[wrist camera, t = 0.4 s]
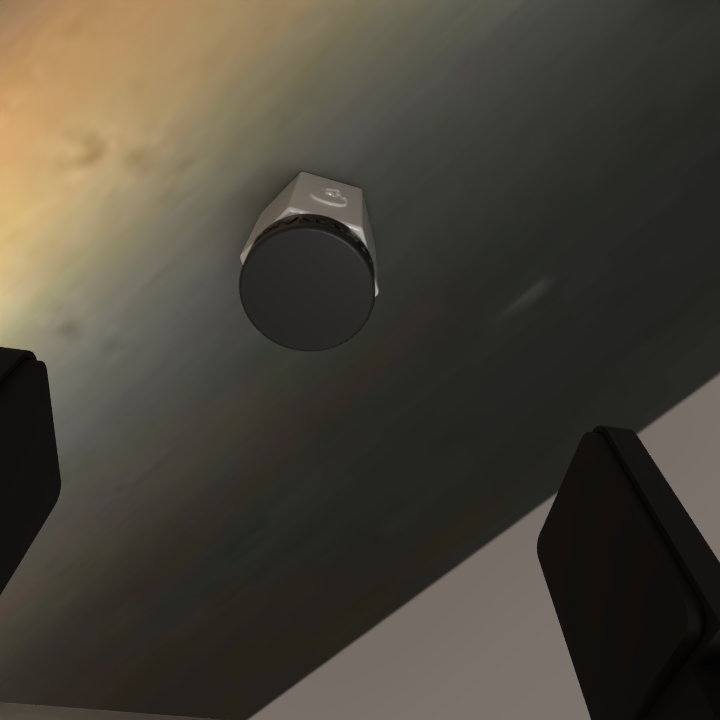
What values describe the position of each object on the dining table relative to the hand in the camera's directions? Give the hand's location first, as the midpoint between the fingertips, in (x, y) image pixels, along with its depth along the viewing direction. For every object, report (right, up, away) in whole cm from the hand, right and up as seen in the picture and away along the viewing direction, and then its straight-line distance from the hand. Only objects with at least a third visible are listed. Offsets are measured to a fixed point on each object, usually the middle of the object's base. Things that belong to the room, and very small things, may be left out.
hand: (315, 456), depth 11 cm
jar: (-2, +12, +35) cm, 37 cm away
